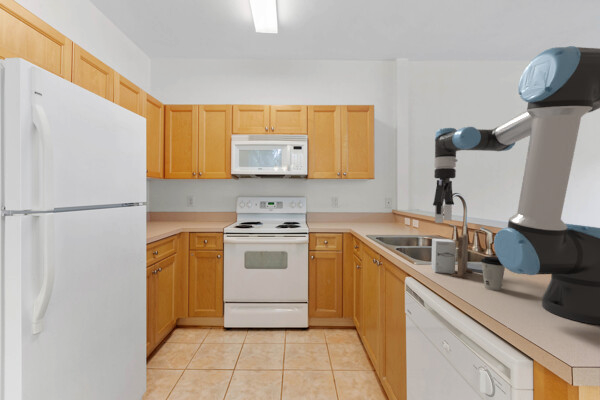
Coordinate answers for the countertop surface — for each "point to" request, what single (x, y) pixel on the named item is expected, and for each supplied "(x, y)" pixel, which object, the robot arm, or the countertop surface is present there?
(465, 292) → the countertop surface
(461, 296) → the countertop surface
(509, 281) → the countertop surface
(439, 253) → the supplement box
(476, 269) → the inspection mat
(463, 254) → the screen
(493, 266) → the coffee cup
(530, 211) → the robot arm
